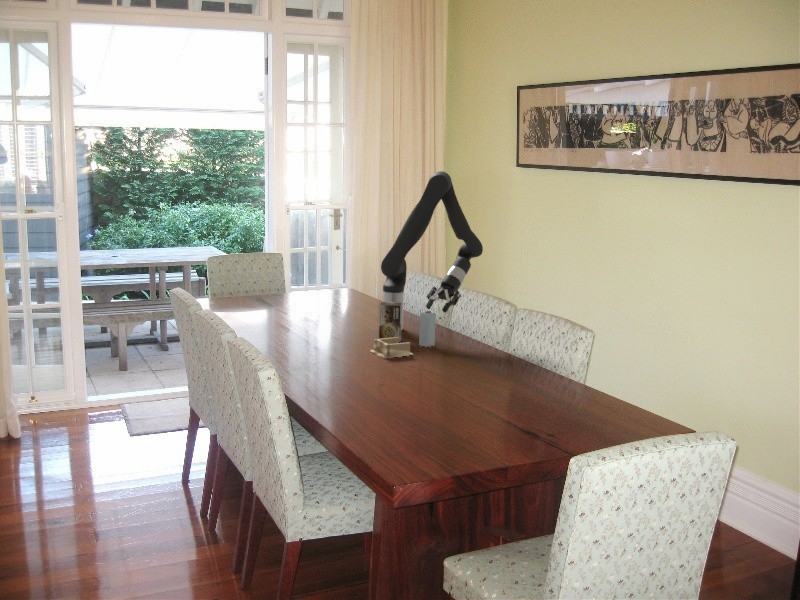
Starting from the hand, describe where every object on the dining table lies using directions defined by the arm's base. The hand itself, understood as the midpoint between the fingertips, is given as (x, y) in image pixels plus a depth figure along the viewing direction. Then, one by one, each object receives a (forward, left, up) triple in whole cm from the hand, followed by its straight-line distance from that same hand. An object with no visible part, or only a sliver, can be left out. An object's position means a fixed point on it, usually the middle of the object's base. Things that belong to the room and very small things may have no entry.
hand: (435, 309), depth 365 cm
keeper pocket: (-1, -25, -15) cm, 29 cm away
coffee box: (-16, -10, -15) cm, 24 cm away
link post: (0, -5, -15) cm, 15 cm away
